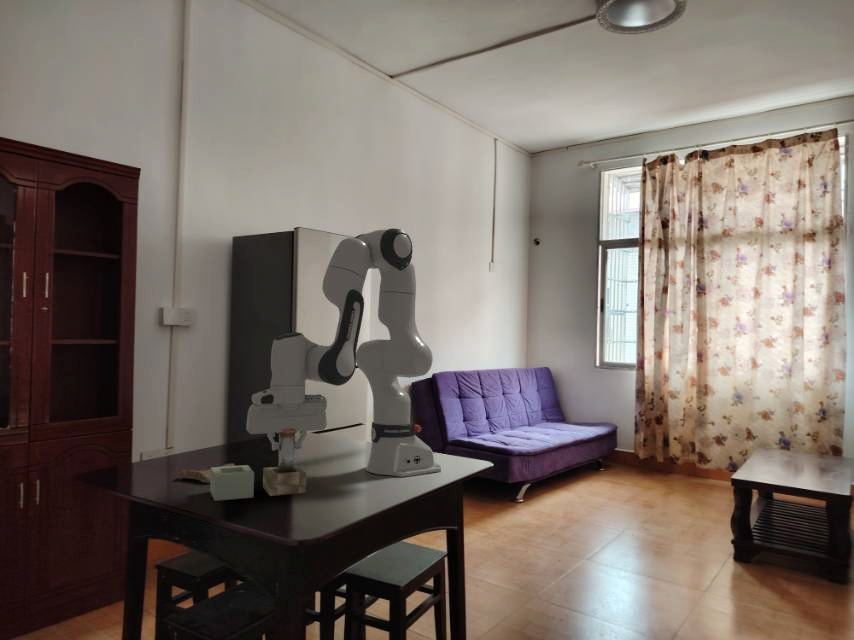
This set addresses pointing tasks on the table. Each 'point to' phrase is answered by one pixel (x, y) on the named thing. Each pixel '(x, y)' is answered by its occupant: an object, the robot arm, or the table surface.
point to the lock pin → (287, 451)
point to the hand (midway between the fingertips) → (286, 449)
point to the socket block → (232, 482)
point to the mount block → (284, 481)
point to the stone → (199, 474)
